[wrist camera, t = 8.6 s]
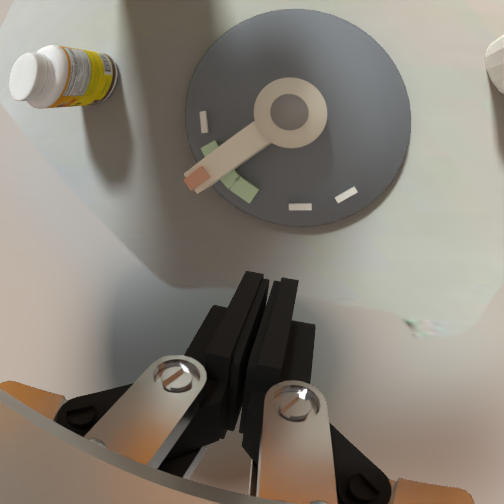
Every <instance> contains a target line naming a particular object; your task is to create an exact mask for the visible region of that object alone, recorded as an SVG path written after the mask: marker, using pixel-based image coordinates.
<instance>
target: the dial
mask: <svg viewBox="0 0 504 504" xmlns="http://www.w3.org/2000/svg"><path fill="white" fill-rule="evenodd" d="M287 77H292V78H299V79H302V80H305V81H307V82H309V83H311V84H312V85H313V86H315V87H316V88H317V89H318V90H319V92H320V93H321V94H322V96H323V98H324V100H325V103H326V106H327V121H326V125H325V127H324V129H323V131H322V133H321V134H320V135H319V137H317V138H316V139H315V140H314V141H313V142H311V143H310V144H308V145H305V146H303V147H299V148H284V147H280V146H277V145H275V144H273V143H272V144H270V145H269V146H267V147H266V148H264V149H263V150H262V151H260V152H259V153H257V154H256V155H254V156H253V157H251V158H250V159H248V160H247V161H246V162H244V163H243V164H241V165H240V166H238V167H237V168H236V169H234V170H233V171H231V172H230V173H228V174H227V175H226V176H224V177H223V178H221V179H220V180H219V181H217V182H216V183H215V184H213V185H212V186H213V187H214V188H215V189H216V190H217V191H218V192H219V193H220V194H221V195H222V196H223V197H224V198H225V199H226V200H228V201H229V202H230V203H231V204H233V205H234V206H235V207H237V208H239V209H240V210H242V211H244V212H245V213H247V214H250V215H252V216H254V217H256V218H258V219H261V220H264V221H268V222H271V223H275V224H280V225H285V226H298V227H304V226H317V225H323V224H328V223H332V222H335V221H338V220H341V219H344V218H346V217H348V216H350V215H353V214H355V213H357V212H358V211H360V210H361V209H363V208H364V207H366V206H368V205H369V204H370V203H371V202H373V201H374V200H375V199H376V198H377V197H378V196H380V194H381V193H382V192H383V191H384V190H385V189H386V188H387V187H388V186H389V184H390V183H391V181H392V180H393V178H394V177H395V175H396V174H397V172H398V170H399V168H400V166H401V164H402V162H403V160H404V157H405V154H406V151H407V148H408V144H409V138H410V132H411V111H410V103H409V98H408V94H407V91H406V87H405V84H404V82H403V80H402V77H401V75H400V73H399V71H398V69H397V67H396V66H395V64H394V62H393V61H392V59H391V58H390V57H389V55H388V54H387V53H386V51H385V50H384V49H383V48H382V47H381V46H380V45H379V44H378V43H377V42H376V41H375V40H374V39H373V38H372V37H371V36H370V35H368V34H367V33H366V32H364V31H363V30H361V29H360V28H359V27H357V26H355V25H353V24H351V23H350V22H348V21H346V20H344V19H341V18H339V17H336V16H334V15H331V14H327V13H323V12H319V11H314V10H305V9H284V10H277V11H271V12H267V13H263V14H260V15H257V16H254V17H252V18H250V19H247V20H245V21H243V22H241V23H239V24H238V25H236V26H234V27H233V28H231V29H230V30H228V31H227V32H226V33H225V34H223V35H222V36H221V37H220V38H219V39H218V40H217V41H216V42H215V43H214V44H213V45H212V46H211V47H210V48H209V49H208V51H207V52H206V53H205V55H204V56H203V58H202V59H201V61H200V63H199V64H198V66H197V68H196V70H195V72H194V75H193V77H192V80H191V82H190V86H189V90H188V94H187V99H186V109H185V118H186V130H187V136H188V140H189V144H190V147H191V151H192V153H193V155H194V158H195V160H196V162H197V163H198V162H199V161H201V160H202V159H203V158H205V157H206V156H207V155H208V154H210V153H211V152H212V151H214V150H215V149H216V148H218V147H219V146H220V145H222V144H223V143H224V142H226V141H227V140H228V139H230V138H231V137H233V136H234V135H235V134H237V133H238V132H239V131H241V130H242V129H244V128H245V127H246V126H248V125H249V124H251V123H252V122H254V121H255V119H254V105H255V101H256V99H257V97H258V95H259V93H260V92H261V91H262V89H263V88H264V87H265V86H267V85H268V84H269V83H271V82H273V81H275V80H277V79H281V78H287Z"/></svg>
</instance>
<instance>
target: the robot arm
mask: <svg viewBox="0 0 504 504" xmlns="http://www.w3.org/2000/svg"><path fill="white" fill-rule="evenodd" d="M263 278H264V275H263V274H260V273H255V272H250V271H246V272H245V274H244V276H243V278H242V280H241V282H240V284H239V286H238V288H237V290H236V292H235V294H234V296H233V298H232V300H231V302H230V304H229V306H228V308H225V307H221V306H217V305H214V306H213V307H212V308H211V309H210V311H209V313H208V315H207V317H206V318H205V320H204V322H203V324H202V325H201V327H200V329H199V330H198V332H197V334H196V335H195V337H194V339H193V341H192V342H191V344H190V346H189V348H188V349H187V351H186V353H185V355H184V356H183V355H171V356H165V357H163V358H160V359H158V360H156V361H155V362H154V363H153V364H152V365H151V366H150V367H149V368H148V369H147V370H146V371H145V372H144V373H143V374H142V375H141V376H140V377H139V378H138V379H137V381H136V382H135V383H133V384H129V385H125V386H121V387H117V388H114V389H110V390H106V391H101V392H97V393H93V394H88V395H84V396H80V397H76V398H73V399H70V400H69V401H68V400H66V399H65V397H64V396H62V395H58V394H55V393H51V392H47V391H44V390H41V389H37V388H34V387H31V386H27V385H24V384H21V383H18V382H14V381H6V382H2V383H1V384H0V504H474V500H473V498H472V496H471V495H470V494H469V493H468V492H467V491H466V490H463V489H460V488H455V487H448V486H441V485H434V484H428V483H422V482H417V481H412V480H406V479H402V478H399V479H398V480H397V481H395V480H390V479H388V478H387V476H386V475H385V474H384V473H383V472H382V471H381V470H380V469H379V468H378V467H377V466H376V465H374V464H373V463H372V462H371V461H370V460H369V459H368V458H367V457H365V456H364V455H363V454H362V453H361V452H360V451H359V450H358V449H357V448H356V447H355V446H354V445H353V444H351V443H350V442H349V441H348V440H347V439H346V438H345V437H344V436H343V435H342V434H341V433H340V432H339V431H338V430H336V428H335V427H334V426H332V425H331V424H330V423H329V417H328V410H327V403H326V400H325V397H324V396H323V394H322V393H321V392H320V391H319V390H318V389H317V388H315V387H314V386H313V385H310V379H311V370H312V359H313V349H314V337H315V325H314V324H309V323H304V322H298V321H292V314H293V309H294V304H295V298H296V293H297V287H298V281H299V280H294V279H288V278H281V282H279V281H274V283H273V286H272V289H271V292H270V296H269V299H268V302H267V305H266V301H267V294H268V287H269V280H268V279H263ZM242 404H243V405H242ZM241 408H242V413H241V421H240V429H239V432H240V433H243V434H244V435H243V441H242V447H243V448H244V449H245V451H246V452H247V453H248V454H249V456H250V457H251V458H252V461H251V471H250V483H249V495H245V494H240V493H236V492H231V491H227V490H223V489H219V488H215V487H212V486H208V485H204V484H201V483H197V482H194V481H191V480H188V478H189V477H190V475H191V474H192V472H193V470H194V469H195V467H196V466H197V464H198V463H199V461H200V459H201V458H202V456H203V454H204V453H205V451H206V448H207V445H208V444H211V443H213V442H216V441H218V440H219V439H220V438H221V439H224V437H225V434H226V432H227V430H230V431H234V429H235V426H236V423H237V420H238V417H239V414H240V411H241Z"/></svg>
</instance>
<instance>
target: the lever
mask: <svg viewBox="0 0 504 504" xmlns="http://www.w3.org/2000/svg"><path fill="white" fill-rule="evenodd" d="M254 119H255V121H254V122H252V123H251V124H249V125H248V126H246V127H245V128H244V129H242V130H241V131H239V132H238V133H237V134H235V135H234V136H233V137H231V138H230V139H228V140H227V141H226V142H224V143H223V144H222V145H220V146H219V147H218V148H216V149H215V150H214V151H212V152H211V153H210V154H208V155H207V156H206V157H205V158H203V159H202V160H201V161H199V162H198V163H197V164H196V165H194V166H193V167H192V168H190V169H189V170H188V171H187V172H185V173H184V174H183V175H184V176H185V179H184V180H183V181H184V182H185V184H186V185H187V187H188V188H189V189H190V191H192V190H195V192H196V193H197V194H198V193H200V192H202V191H203V190H205V189H207V188H209V187H210V186H212V185H213V184H215V183H216V182H217V181H219V180H220V179H221V178H223V177H224V176H226V175H227V174H228V173H230V172H231V171H233V170H234V169H236V168H237V167H238V166H240V165H241V164H243V163H244V162H246V161H247V160H248V159H250V158H251V157H253V156H254V155H256V154H257V153H259V152H260V151H262V150H263V149H264V148H266V147H267V146H269V145H270V144H272V143H273V144H275V145H277V146H280V147H284V148H299V147H303V146H305V145H308V144H310V143H311V142H313V141H314V140H315V139H316V138H317V137H319V135H320V134H321V133H322V131H323V129H324V127H325V125H326V121H327V106H326V103H325V100H324V98H323V96H322V94H321V93H320V92H319V90H318V89H317V88H316V87H315V86H313V85H312V84H311V83H309V82H307V81H305V80H302V79H299V78H292V77H287V78H281V79H277V80H275V81H273V82H271V83H269V84H268V85H267V86H265V87H264V88H263V89H262V91H261V92H260V93H259V95H258V97H257V99H256V101H255V105H254Z"/></svg>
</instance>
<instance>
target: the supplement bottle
mask: <svg viewBox="0 0 504 504" xmlns="http://www.w3.org/2000/svg"><path fill="white" fill-rule="evenodd" d="M116 81H117V67H116V64H115V62H114V60H113V59H112V58H111V57H110V56H109V55H107V54H104V53H100V52H94V51H89V50H83V49H76V48H69V47H62V46H55V45H49V46H45V47H43V48H41V49H40V50H38V51H37V52H36V53H25V54H23V55H22V56H21V57H19V58H18V60H17V61H16V62H15V64H14V66H13V68H12V71H11V74H10V80H9V88H10V93H11V95H12V97H13V98H14V99H15V100H17V101H27V102H28V103H29V104H30V105H31V106H32V107H34V108H38V109H43V108H55V107H71V106H89V105H96V104H99V103H101V102H103V101H104V100H106V99H107V98H108V97H109V96H110V94H111V93H112V91H113V89H114V87H115V85H116Z"/></svg>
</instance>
